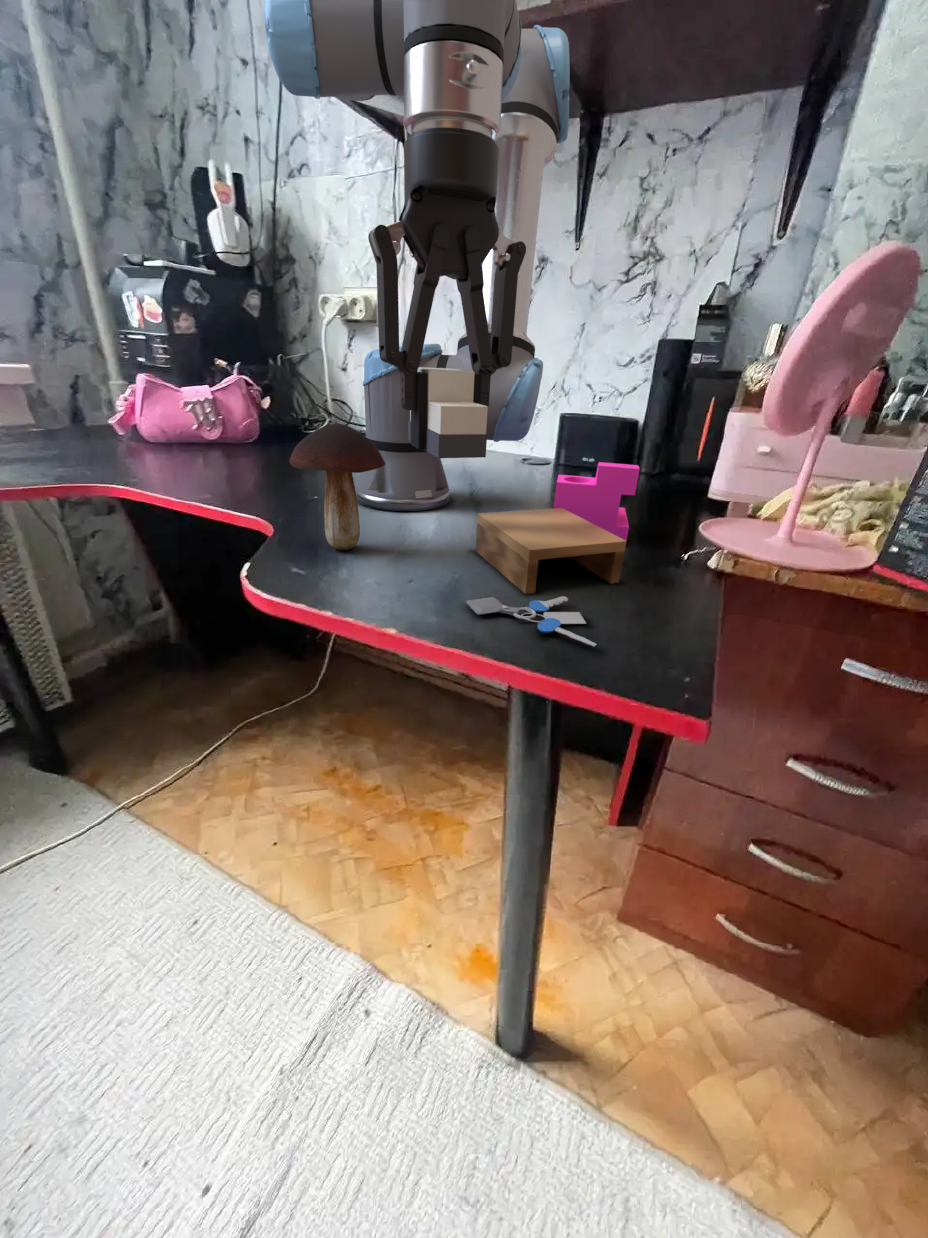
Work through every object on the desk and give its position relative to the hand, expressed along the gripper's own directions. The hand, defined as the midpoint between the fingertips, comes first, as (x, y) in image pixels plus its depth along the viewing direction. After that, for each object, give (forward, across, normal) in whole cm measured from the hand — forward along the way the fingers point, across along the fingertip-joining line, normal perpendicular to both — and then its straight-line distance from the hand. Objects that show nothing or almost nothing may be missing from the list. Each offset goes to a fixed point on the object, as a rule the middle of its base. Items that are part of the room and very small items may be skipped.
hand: (444, 445), depth 53 cm
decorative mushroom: (+15, -8, +14) cm, 22 cm away
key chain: (+15, +7, -10) cm, 19 cm away
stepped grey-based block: (0, 0, 0) cm, 0 cm away
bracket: (+15, +28, +14) cm, 34 cm away
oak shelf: (+15, +14, +2) cm, 20 cm away
